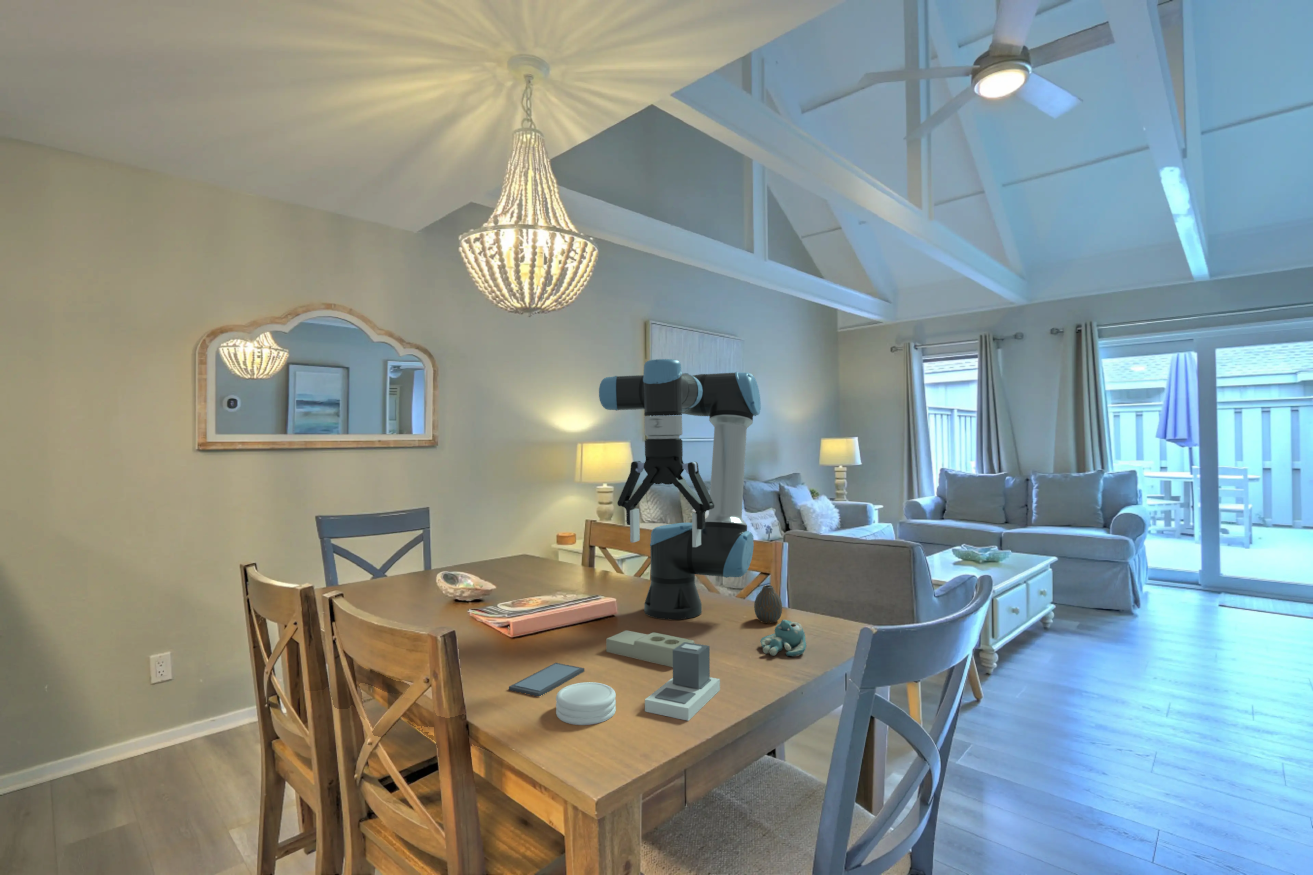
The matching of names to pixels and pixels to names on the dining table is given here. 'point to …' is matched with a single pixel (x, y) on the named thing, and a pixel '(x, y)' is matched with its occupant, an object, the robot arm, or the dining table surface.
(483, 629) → the dining table surface
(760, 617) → the vase
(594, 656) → the dining table surface
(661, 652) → the electrical outlet
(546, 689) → the phone
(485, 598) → the dining table surface
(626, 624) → the dining table surface
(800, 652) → the stuffed animal
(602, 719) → the coaster
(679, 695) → the plate
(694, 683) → the block
